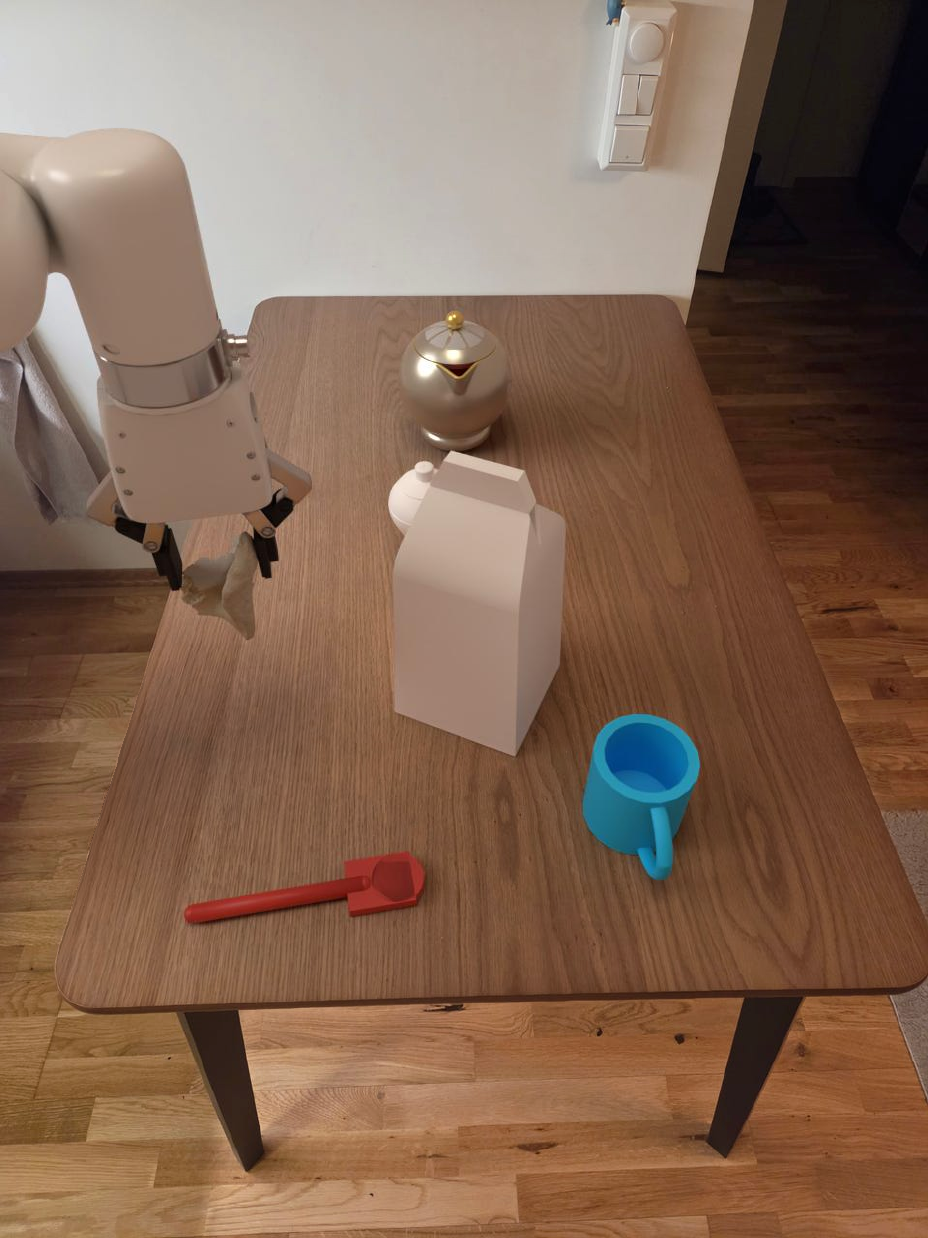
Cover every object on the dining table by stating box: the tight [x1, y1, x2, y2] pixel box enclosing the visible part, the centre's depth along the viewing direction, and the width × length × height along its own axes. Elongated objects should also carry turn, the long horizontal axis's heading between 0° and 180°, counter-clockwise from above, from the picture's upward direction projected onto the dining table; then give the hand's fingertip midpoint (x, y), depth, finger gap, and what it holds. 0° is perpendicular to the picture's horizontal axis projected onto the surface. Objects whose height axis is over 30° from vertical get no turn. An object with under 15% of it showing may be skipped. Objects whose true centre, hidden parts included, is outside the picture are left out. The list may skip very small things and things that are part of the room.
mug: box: [582, 713, 701, 882], centre depth 68 cm, size 12×8×8 cm
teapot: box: [397, 310, 513, 452], centre depth 104 cm, size 18×14×16 cm
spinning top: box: [387, 460, 439, 537], centre depth 89 cm, size 8×8×12 cm
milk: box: [392, 451, 567, 758], centre depth 72 cm, size 12×12×26 cm
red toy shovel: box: [183, 850, 426, 924], centre depth 67 cm, size 18×4×1 cm, turn 100°
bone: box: [180, 530, 259, 641], centre depth 66 cm, size 9×6×10 cm
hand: (221, 570), depth 66 cm, fingers closed on bone, 6 cm apart
